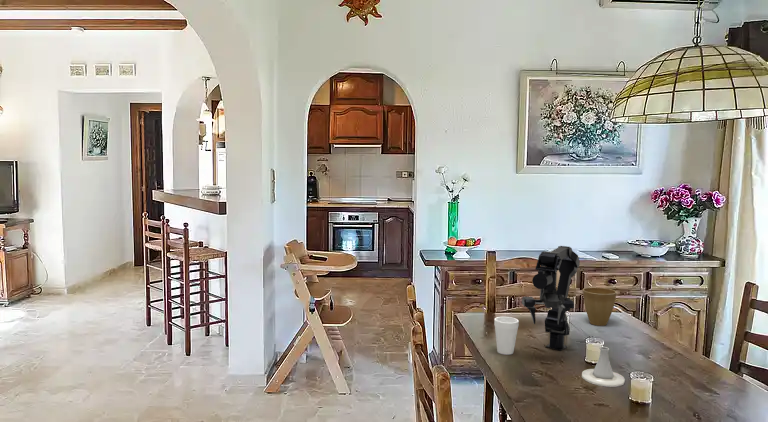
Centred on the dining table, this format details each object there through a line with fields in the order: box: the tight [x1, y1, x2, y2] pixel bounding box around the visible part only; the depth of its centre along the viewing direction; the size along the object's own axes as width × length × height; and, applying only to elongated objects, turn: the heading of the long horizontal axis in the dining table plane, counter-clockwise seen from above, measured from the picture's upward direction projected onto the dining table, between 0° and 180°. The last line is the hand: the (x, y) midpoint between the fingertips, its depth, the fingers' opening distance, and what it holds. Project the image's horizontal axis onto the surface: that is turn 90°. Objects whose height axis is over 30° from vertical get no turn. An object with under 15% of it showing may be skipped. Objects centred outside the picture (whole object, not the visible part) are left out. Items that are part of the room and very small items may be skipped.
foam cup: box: [493, 316, 520, 356], centre depth 225 cm, size 10×9×13 cm
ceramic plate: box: [581, 368, 626, 388], centre depth 199 cm, size 14×14×1 cm
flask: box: [592, 346, 614, 379], centre depth 199 cm, size 7×7×10 cm
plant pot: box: [582, 287, 618, 327], centre depth 267 cm, size 15×15×16 cm
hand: (546, 324), depth 219 cm, fingers open, 9 cm apart
